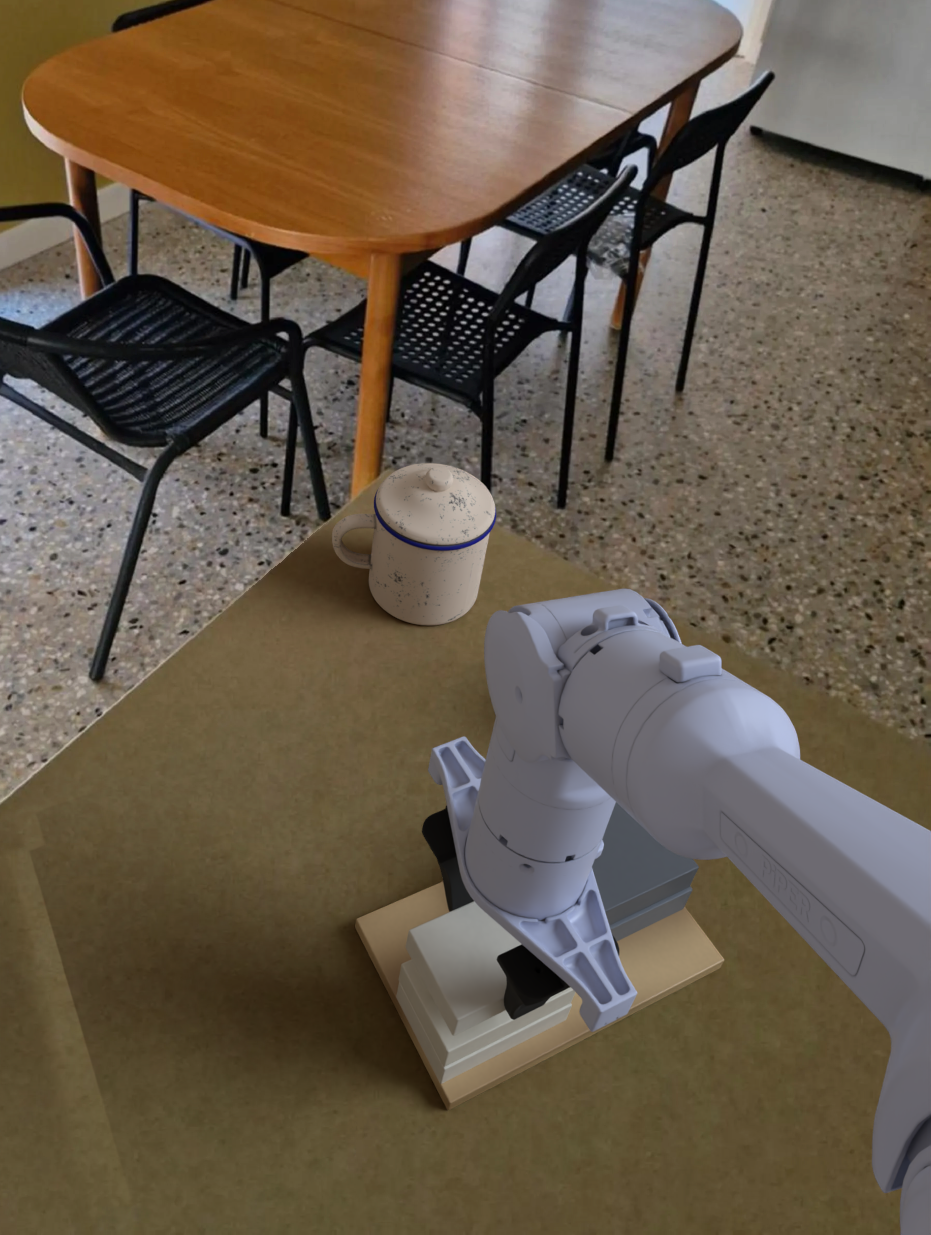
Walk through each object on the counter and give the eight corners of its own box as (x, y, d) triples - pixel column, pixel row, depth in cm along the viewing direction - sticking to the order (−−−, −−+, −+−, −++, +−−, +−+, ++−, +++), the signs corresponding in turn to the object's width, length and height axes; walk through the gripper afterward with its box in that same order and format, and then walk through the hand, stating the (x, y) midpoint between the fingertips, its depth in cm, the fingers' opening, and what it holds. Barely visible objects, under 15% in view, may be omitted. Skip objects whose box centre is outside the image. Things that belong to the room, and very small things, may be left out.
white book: (585, 971, 58) (592, 954, 56) (452, 1037, 55) (457, 1020, 53) (532, 889, 61) (538, 871, 60) (404, 947, 58) (408, 929, 57)
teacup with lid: (472, 548, 91) (492, 436, 84) (488, 631, 84) (512, 517, 77) (326, 545, 90) (334, 432, 83) (330, 629, 83) (339, 513, 76)
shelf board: (720, 968, 65) (725, 959, 64) (447, 1111, 58) (449, 1103, 57) (608, 816, 72) (611, 807, 72) (354, 927, 65) (355, 918, 65)
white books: (566, 1020, 61) (579, 988, 59) (440, 1084, 58) (448, 1054, 56) (516, 938, 64) (526, 905, 62) (394, 995, 61) (401, 963, 59)
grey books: (683, 908, 67) (703, 869, 64) (560, 969, 63) (575, 930, 60) (623, 827, 71) (639, 786, 68) (503, 880, 67) (515, 839, 64)
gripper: (721, 912, 46) (644, 1056, 54) (528, 661, 55) (488, 816, 64) (581, 982, 43) (523, 1122, 51) (404, 705, 53) (380, 861, 61)
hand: (496, 957), depth 58 cm, fingers closed on white book, 5 cm apart
